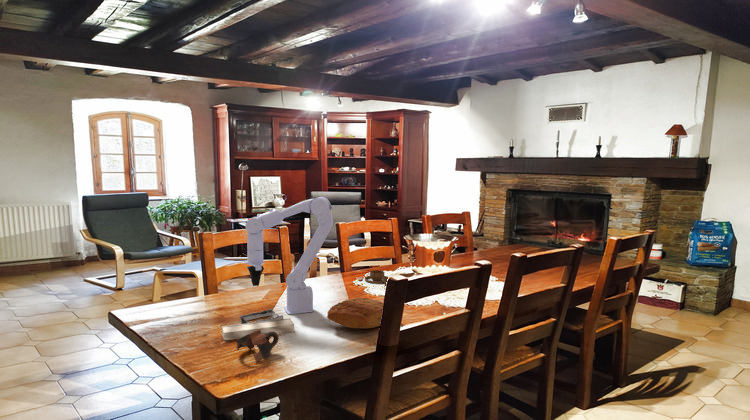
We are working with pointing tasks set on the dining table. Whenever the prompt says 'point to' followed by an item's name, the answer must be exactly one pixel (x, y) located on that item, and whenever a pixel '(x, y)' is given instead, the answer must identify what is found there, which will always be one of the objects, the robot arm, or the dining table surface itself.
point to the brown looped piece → (258, 343)
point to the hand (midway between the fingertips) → (255, 285)
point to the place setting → (376, 277)
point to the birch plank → (257, 328)
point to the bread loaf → (357, 313)
